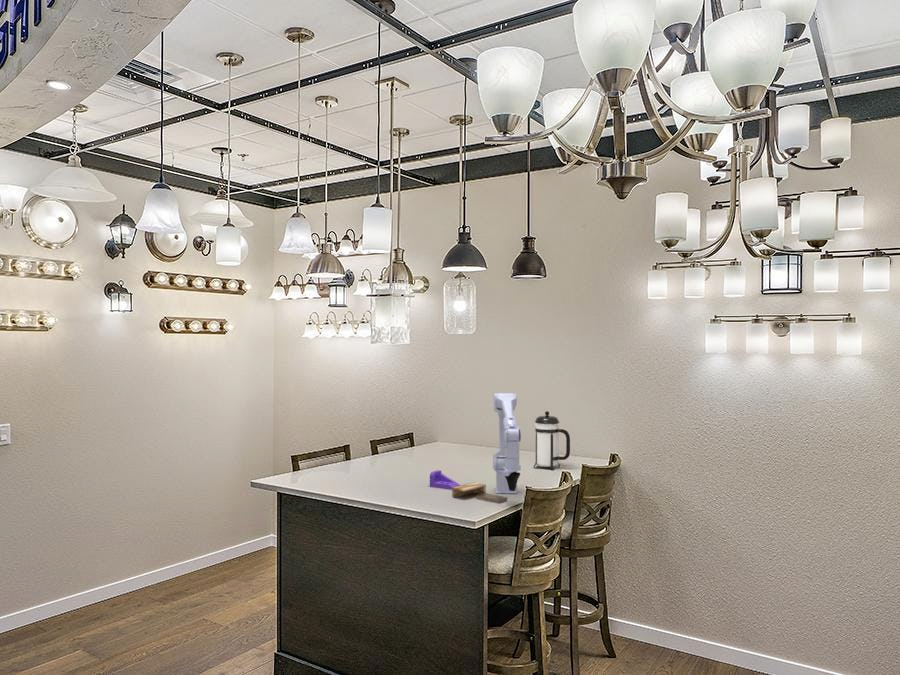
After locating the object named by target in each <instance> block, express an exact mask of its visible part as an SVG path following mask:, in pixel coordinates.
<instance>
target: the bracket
mask: <svg viewBox="0 0 900 675" xmlns="http://www.w3.org/2000/svg"><path fill="white" fill-rule="evenodd" d="M460 485H461V484H460V483H458V482H457V481H455V480H453V479H452V478H450V477H448V476H447V475H446V474H444V473H442V470H439V469H436V470H434V471H431V472H430V474H429V487H430V488H436V489H441V490H442V489H443V490H449V491H452V487H455V486H460Z"/></svg>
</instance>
